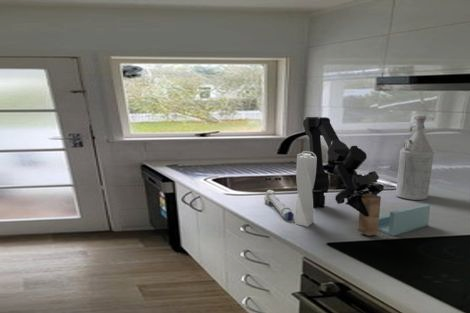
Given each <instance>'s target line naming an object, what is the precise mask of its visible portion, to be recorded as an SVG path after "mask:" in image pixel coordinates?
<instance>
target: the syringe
mask: <svg viewBox="0 0 470 313" xmlns="http://www.w3.org/2000/svg"><path fill="white" fill-rule="evenodd" d="M275 194H276V193H275V191H274V190H272V189H268V190H266V193H265V195H264V196H263V199H264V204H265V205H268V206H274V207H275V208H276V209H277V210H278V212H279V213H280V216H281V217H282V218H283V219H284V220H285V221H292V220H293V219H295V214H294V212H292V209H291V208H290V207H289V206H287V205H285V203H284V202H283V201H281V199H280V198H278V197H277V195H275Z"/></svg>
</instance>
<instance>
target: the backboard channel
mask: <svg viewBox="0 0 470 313" xmlns="http://www.w3.org/2000/svg"><path fill="white" fill-rule="evenodd" d="M430 210H431V204H428V203H424V204H420V205H419V204H418V205H416V206H412V207H407V208H401V209H399V210H394V211H390V212H389V214H388V215H387V214H386V215H384V216H379V225H378V232H382V233H385V234H386V235H390V236H397V235H400V234H404V233H407V231H408V232H410V231H411V230H412V231H415V230H419V229H422V228H426V227H428V226H429V220H430ZM418 228H419V229H418Z"/></svg>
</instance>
